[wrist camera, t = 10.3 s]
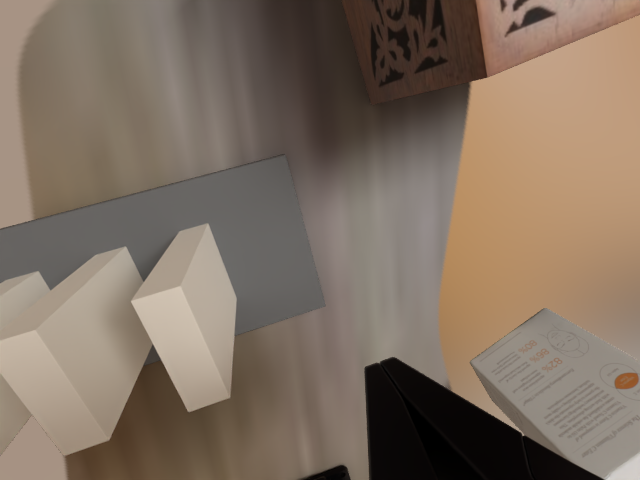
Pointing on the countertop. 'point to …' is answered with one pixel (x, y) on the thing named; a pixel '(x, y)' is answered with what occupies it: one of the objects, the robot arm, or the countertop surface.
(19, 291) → the domino
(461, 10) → the tissue box cover
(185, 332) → the white angular block
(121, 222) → the rubber mat
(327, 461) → the countertop surface
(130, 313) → the domino
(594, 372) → the small box
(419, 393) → the robot arm
